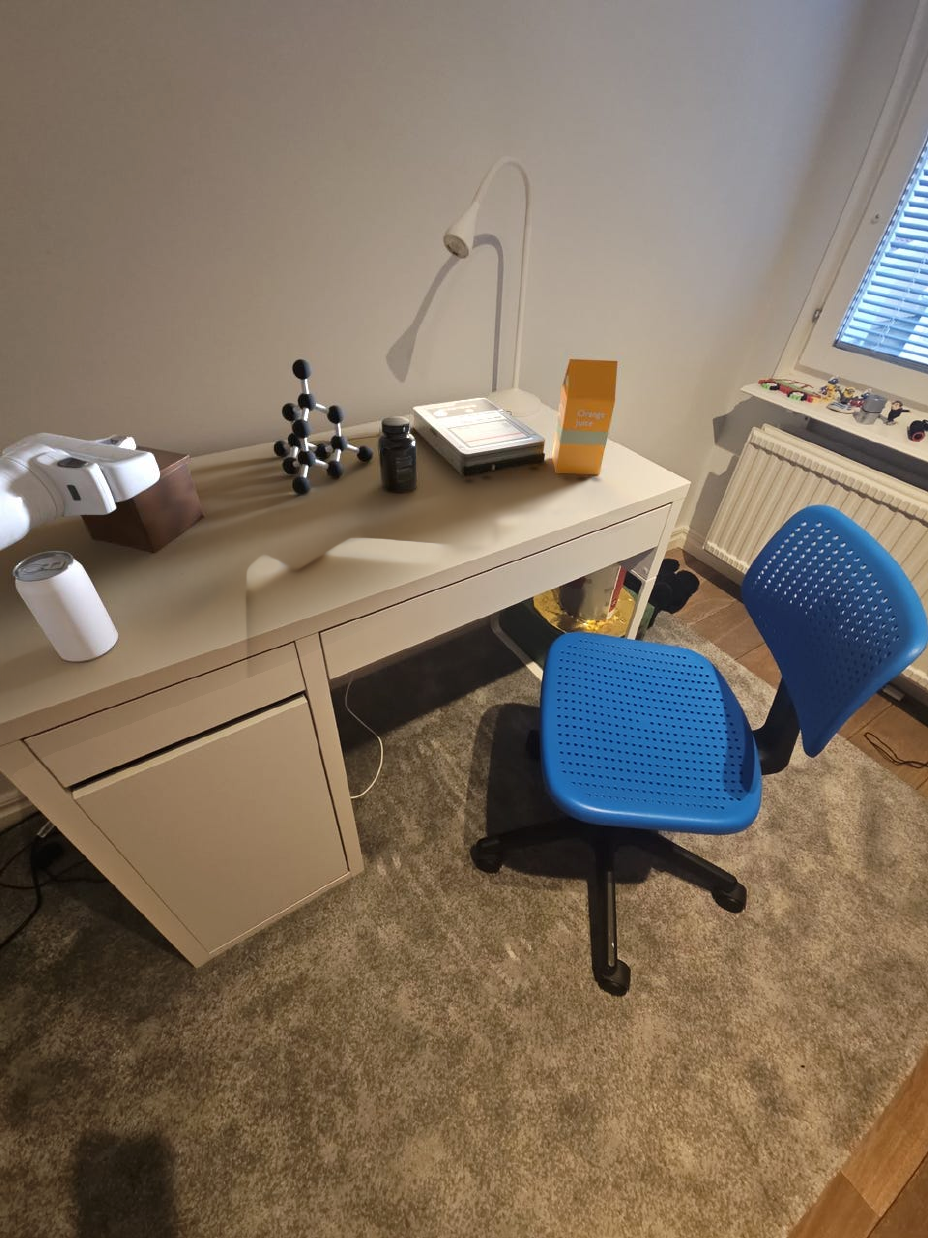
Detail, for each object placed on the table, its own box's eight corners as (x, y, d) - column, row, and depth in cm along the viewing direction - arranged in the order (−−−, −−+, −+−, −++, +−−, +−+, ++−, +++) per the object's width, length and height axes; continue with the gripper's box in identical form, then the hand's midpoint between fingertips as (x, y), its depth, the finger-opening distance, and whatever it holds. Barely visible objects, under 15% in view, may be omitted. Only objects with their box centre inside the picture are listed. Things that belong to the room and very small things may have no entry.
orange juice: (599, 474, 106) (622, 367, 93) (555, 472, 106) (571, 365, 93) (593, 457, 112) (614, 354, 99) (551, 456, 112) (566, 352, 99)
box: (145, 504, 92) (123, 450, 86) (204, 517, 90) (186, 461, 83) (91, 538, 84) (63, 480, 77) (155, 553, 81) (131, 494, 75)
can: (66, 632, 68) (17, 552, 60) (123, 623, 69) (83, 544, 61) (53, 668, 63) (-1, 587, 55) (115, 658, 65) (70, 577, 57)
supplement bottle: (420, 478, 103) (418, 415, 95) (414, 495, 98) (412, 430, 90) (384, 475, 103) (380, 412, 95) (376, 492, 98) (371, 427, 90)
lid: (127, 447, 86) (126, 443, 86) (190, 459, 84) (189, 454, 83) (63, 480, 77) (60, 475, 77) (131, 494, 75) (129, 489, 74)
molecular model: (377, 461, 108) (368, 353, 95) (302, 499, 95) (280, 381, 82) (314, 439, 115) (298, 336, 102) (237, 472, 102) (207, 359, 89)
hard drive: (463, 476, 104) (464, 454, 101) (412, 426, 122) (411, 406, 119) (544, 461, 110) (547, 440, 107) (484, 416, 128) (485, 397, 125)
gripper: (-5, 489, 73) (79, 450, 83) (118, 517, 69) (190, 472, 79) (-31, 445, 69) (60, 409, 79) (98, 471, 65) (177, 429, 75)
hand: (126, 440), depth 79 cm, fingers closed
